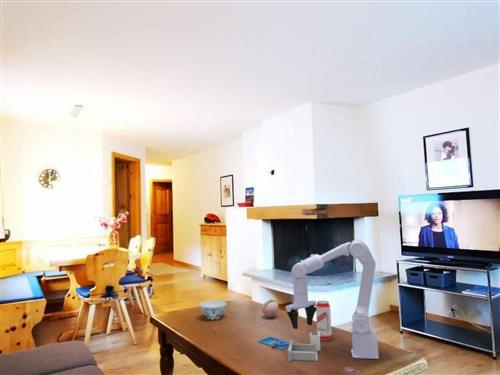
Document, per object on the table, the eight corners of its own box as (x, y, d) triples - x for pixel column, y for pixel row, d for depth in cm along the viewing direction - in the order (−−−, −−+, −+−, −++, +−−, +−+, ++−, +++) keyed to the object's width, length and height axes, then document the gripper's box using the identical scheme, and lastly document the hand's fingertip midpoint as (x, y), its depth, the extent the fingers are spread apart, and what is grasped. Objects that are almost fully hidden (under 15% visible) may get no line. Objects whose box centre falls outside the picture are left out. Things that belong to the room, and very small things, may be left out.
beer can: (322, 335, 164) (320, 299, 165) (334, 338, 159) (332, 301, 161) (314, 339, 159) (312, 302, 161) (326, 342, 155) (324, 304, 156)
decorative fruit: (268, 314, 201) (267, 296, 202) (281, 316, 196) (280, 297, 197) (259, 319, 193) (258, 299, 194) (272, 321, 189) (271, 301, 189)
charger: (320, 347, 150) (319, 331, 150) (320, 350, 146) (319, 335, 146) (310, 346, 151) (309, 331, 151) (310, 350, 147) (309, 334, 147)
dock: (317, 350, 146) (316, 340, 147) (317, 362, 134) (316, 351, 135) (290, 349, 148) (290, 339, 148) (288, 361, 136) (287, 350, 137)
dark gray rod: (295, 345, 153) (295, 342, 153) (295, 346, 152) (295, 343, 152) (271, 347, 151) (270, 345, 151) (271, 348, 150) (271, 346, 150)
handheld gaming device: (281, 348, 148) (256, 340, 159) (281, 351, 148) (256, 342, 159) (295, 343, 153) (270, 335, 165) (295, 345, 153) (270, 337, 164)
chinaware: (196, 316, 202) (196, 302, 202) (221, 312, 208) (221, 299, 209) (204, 323, 188) (204, 308, 189) (231, 319, 195) (231, 304, 195)
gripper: (307, 288, 156) (309, 320, 155) (280, 293, 148) (282, 327, 147) (318, 291, 150) (320, 324, 149) (291, 296, 142) (293, 332, 141)
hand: (302, 326), depth 147 cm, fingers open, 7 cm apart
